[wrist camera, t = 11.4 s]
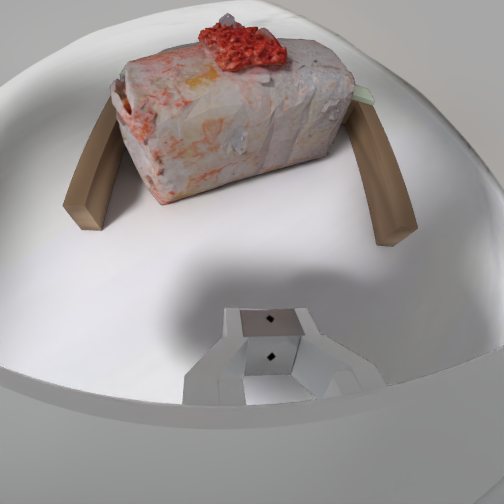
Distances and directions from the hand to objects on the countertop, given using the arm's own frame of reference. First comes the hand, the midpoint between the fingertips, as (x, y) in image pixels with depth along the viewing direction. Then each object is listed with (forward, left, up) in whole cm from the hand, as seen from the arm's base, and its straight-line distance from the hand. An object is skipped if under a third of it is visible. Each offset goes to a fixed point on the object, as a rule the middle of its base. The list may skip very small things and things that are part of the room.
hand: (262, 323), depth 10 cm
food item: (-1, +12, -5) cm, 14 cm away
